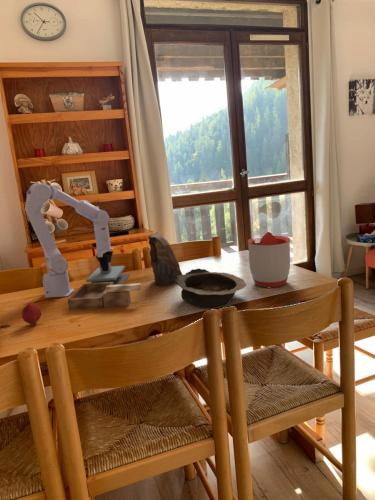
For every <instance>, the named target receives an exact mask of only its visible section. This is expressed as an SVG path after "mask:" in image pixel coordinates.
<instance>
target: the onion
mask: <svg viewBox="0 0 375 500" xmlns="http://www.w3.org/2000/svg"><path fill="white" fill-rule="evenodd" d="M41 317H42V309H41V308H40V307H39V306H38V305H36V304H34V303H33V301H32V300H30V301H28V302H27V304H26V305H25V306H24V308H23V309H22V311H21V318H22V319H23V321H24V322H25V323H27V324H30V325H36V324H37V323H38V321H39V320H40V319H41Z"/></svg>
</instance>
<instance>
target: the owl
mask: <svg viewBox="0 0 375 500" xmlns="http://www.w3.org/2000/svg"><path fill="white" fill-rule="evenodd" d="M147 238H148V242H147V243H148V244H149V247H150V248H149V249H150V251H149V256H150V266H151V268H152V273H153V275H154V286H158V287H160V288H165V287H168V286H170V285H173V284H176V283H175V281H174V278H176V277H177V275H184V274H183V273H182V271H181V268H180V264H179V261H178V260H177V258H176V255H175V253H174V250H173V248H172V247H171V244H170V242H169V241H168V239H166V238H165V237H164V236H163V235H161V234H160V233H159V232H158V231H156V232H155V233H151V234H149V235H148V237H147Z"/></svg>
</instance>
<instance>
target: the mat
mask: <svg viewBox="0 0 375 500" xmlns="http://www.w3.org/2000/svg"><path fill="white" fill-rule="evenodd" d="M130 276H131V274H130V273H123V274H122V273H121V274H120V275H119V276H118V277H117V279H116V280H109V281H94V282H90V283H105V282H114V285H119V284H126V281H127V280H128V278H129V277H130Z"/></svg>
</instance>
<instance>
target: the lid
mask: <svg viewBox="0 0 375 500" xmlns="http://www.w3.org/2000/svg"><path fill="white" fill-rule="evenodd" d="M108 264H109V268H108V271H103V270H102V267H101V265H100V263H99V267H97V268H96V269H95V270H94V271H93V272H92V273H91V274H90V275H89V276H88V277H87V278H86V279H85V282H86V283H91V282H94V281H109V280H116V279H117V277H118V276H119V275H120V274H122V272H123V271H124V270H125V268H126V266H125V265H116V266H114V265H111V264H112V261H111V262H109V263H108Z"/></svg>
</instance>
